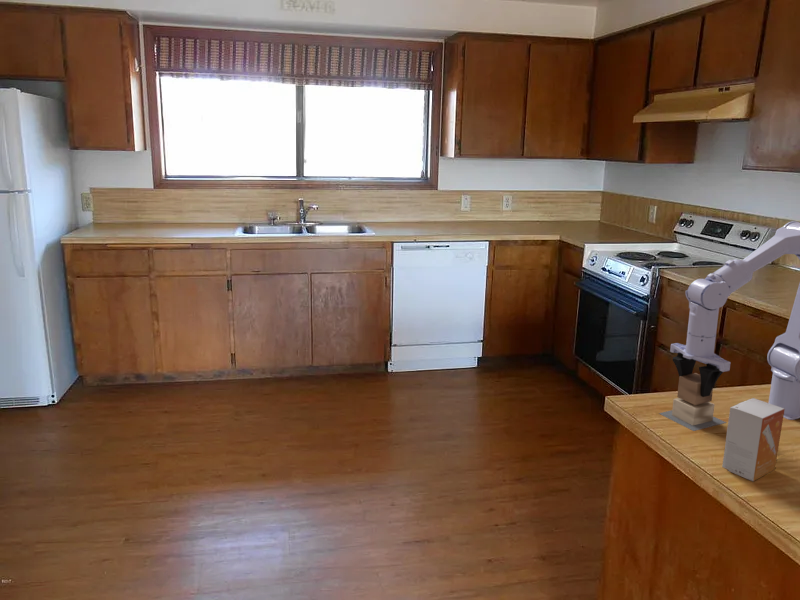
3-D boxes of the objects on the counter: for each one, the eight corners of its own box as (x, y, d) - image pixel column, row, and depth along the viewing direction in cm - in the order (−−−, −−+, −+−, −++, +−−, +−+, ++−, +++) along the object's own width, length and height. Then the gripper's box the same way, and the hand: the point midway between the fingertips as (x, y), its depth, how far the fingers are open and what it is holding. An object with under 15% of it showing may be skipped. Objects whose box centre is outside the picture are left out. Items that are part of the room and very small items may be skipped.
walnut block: (693, 393, 147) (695, 372, 146) (711, 401, 143) (713, 380, 141) (677, 397, 145) (679, 376, 144) (695, 405, 141) (697, 384, 139)
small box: (753, 482, 119) (762, 418, 115) (721, 468, 124) (729, 406, 121) (776, 470, 123) (785, 407, 120) (743, 457, 128) (752, 396, 125)
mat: (690, 407, 151) (690, 405, 151) (726, 424, 143) (726, 422, 142) (658, 414, 148) (658, 413, 148) (693, 432, 139) (693, 430, 139)
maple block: (691, 410, 149) (692, 394, 148) (712, 420, 143) (714, 404, 142) (671, 415, 146) (673, 398, 146) (692, 425, 141) (694, 408, 140)
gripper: (662, 327, 145) (657, 383, 148) (716, 345, 132) (708, 406, 135) (685, 323, 148) (679, 378, 151) (740, 341, 135) (732, 400, 138)
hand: (695, 391), depth 143 cm, fingers closed on walnut block, 5 cm apart
